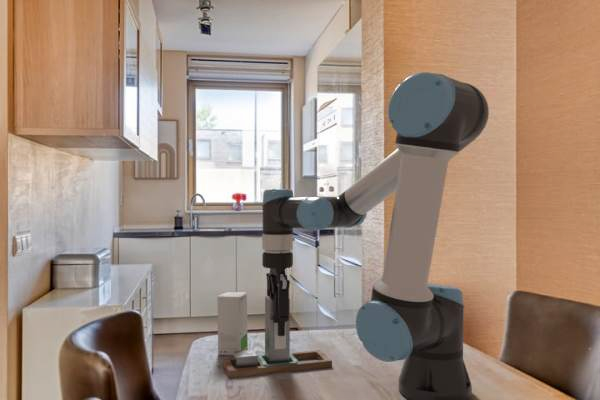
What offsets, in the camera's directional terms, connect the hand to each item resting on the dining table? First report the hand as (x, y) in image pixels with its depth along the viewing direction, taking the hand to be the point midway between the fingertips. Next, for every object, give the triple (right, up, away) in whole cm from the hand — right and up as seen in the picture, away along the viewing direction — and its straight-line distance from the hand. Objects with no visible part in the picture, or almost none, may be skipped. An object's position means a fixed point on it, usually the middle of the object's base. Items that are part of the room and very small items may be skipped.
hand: (277, 344), depth 124 cm
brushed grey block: (0, -3, 0) cm, 3 cm away
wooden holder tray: (0, -5, 0) cm, 5 cm away
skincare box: (-13, -5, +12) cm, 18 cm away
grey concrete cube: (-8, -5, -2) cm, 10 cm away
